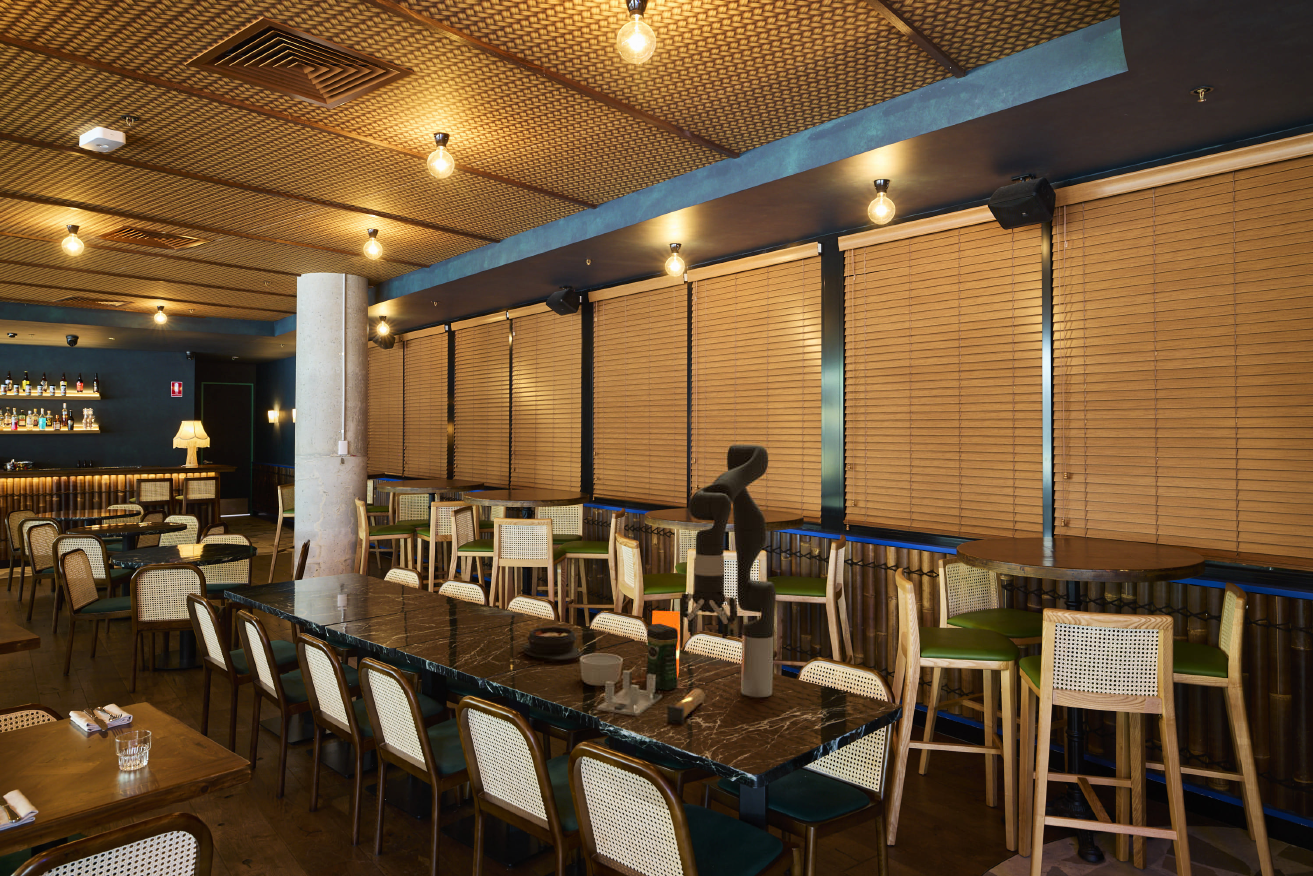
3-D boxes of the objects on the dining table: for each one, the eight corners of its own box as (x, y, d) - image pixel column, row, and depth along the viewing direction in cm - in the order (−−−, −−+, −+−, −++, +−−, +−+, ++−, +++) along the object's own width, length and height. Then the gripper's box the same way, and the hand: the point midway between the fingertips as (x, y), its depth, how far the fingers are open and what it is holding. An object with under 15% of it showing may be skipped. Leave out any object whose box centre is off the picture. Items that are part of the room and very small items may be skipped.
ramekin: (627, 677, 248) (628, 655, 248) (614, 689, 236) (614, 666, 236) (588, 673, 252) (588, 651, 252) (572, 684, 239) (573, 661, 239)
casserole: (508, 653, 274) (509, 628, 275) (552, 644, 287) (552, 621, 287) (550, 668, 256) (551, 642, 256) (595, 659, 269) (596, 634, 269)
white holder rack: (624, 691, 233) (624, 667, 233) (661, 697, 229) (662, 673, 229) (597, 709, 216) (597, 684, 217) (637, 716, 212) (637, 689, 212)
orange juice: (678, 677, 249) (679, 614, 249) (650, 676, 249) (651, 613, 250) (678, 670, 257) (680, 609, 257) (651, 669, 257) (653, 608, 258)
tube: (690, 701, 225) (691, 687, 225) (704, 703, 224) (704, 689, 224) (667, 722, 208) (667, 706, 208) (681, 724, 206) (682, 708, 206)
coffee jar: (681, 688, 238) (683, 626, 238) (660, 692, 233) (662, 629, 233) (662, 680, 246) (663, 620, 246) (641, 684, 241) (642, 623, 241)
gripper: (740, 571, 200) (739, 635, 200) (687, 567, 205) (686, 629, 205) (732, 576, 193) (731, 642, 193) (677, 572, 198) (676, 636, 198)
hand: (708, 636), depth 199 cm, fingers open, 8 cm apart
